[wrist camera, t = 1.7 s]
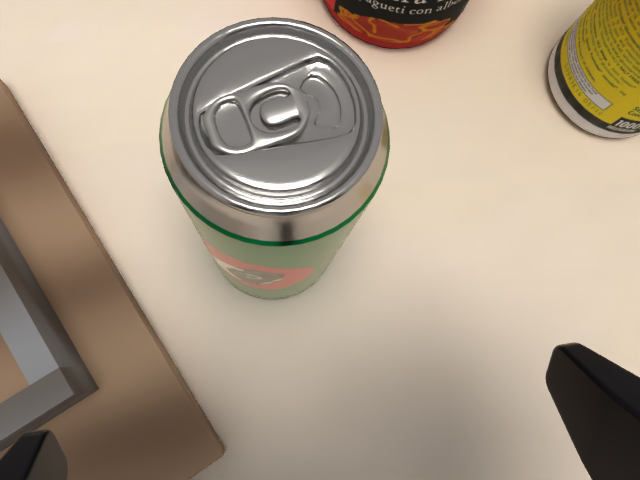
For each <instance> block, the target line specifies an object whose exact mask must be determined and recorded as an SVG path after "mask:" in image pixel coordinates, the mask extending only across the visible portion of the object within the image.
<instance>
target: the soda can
mask: <svg viewBox="0 0 640 480" xmlns="http://www.w3.org/2000/svg"><path fill="white" fill-rule="evenodd" d="M159 141H160V153H161V157H162V161H163V165H164V169H165V172H166V174H167V176H168V179H169V181H170V183H171V185H172V187H173V189H174V191H175V193H176V194H177V196H178V198H179V200H180V201H181V203H182V205H183V207H184V208H185V210H186V212H187V214H188V215H189V217H190V219H191V220H192V222H193V224H194V226H195V227H196V229H197V231H198V233H199V234H200V236H201V238H202V240H203V241H204V243H205V245H206V247H207V248H208V250H209V252H210V254H211V255H212V257H213V259H214V261H215V262H216V264H217V266H218V267H219V269H220V271H221V272H222V274H223V275H224V276H225V277H226V279H227V280H228V281H229V282H230V283H231V284H233V285H234V286H235V287H236V288H238V289H239V290H241V291H243V292H245V293H247V294H249V295H252V296H255V297H259V298H264V299H280V298H287V297H290V296H293V295H296V294H298V293H300V292H302V291H304V290H306V289H307V288H309V287H310V286H311V285H313V284H314V283H315V282H316V281H317V280H318V279H319V278H320V276H321V275H322V274H323V272H324V271H325V269H326V268H327V266H328V265H329V263H330V262H331V260H332V259H333V257H334V256H335V254H336V253H337V251H338V250H339V248H340V247H341V245H342V244H343V242H344V241H345V239H346V238H347V236H348V235H349V233H350V232H351V230H352V229H353V227H354V226H355V224H356V223H357V221H358V220H359V218H360V217H361V215H362V214H363V212H364V211H365V209H366V208H367V206H368V205H369V203H370V202H371V200H372V199H373V197H374V195H375V193H376V191H377V190H378V188H379V186H380V184H381V182H382V179H383V176H384V173H385V170H386V167H387V163H388V157H389V150H390V137H389V127H388V122H387V116H386V113H385V111H384V108H383V105H382V102H381V97H380V94H379V91H378V88H377V85H376V82H375V80H374V78H373V76H372V75H371V73H370V71H369V69H368V67H367V66H366V65H365V63H364V62H363V61H362V59H361V58H360V57H359V55H358V54H357V53H356V52H355V51H353V50H352V49H351V48H350V47H349V46H348V45H347V44H346V43H345V42H343V41H342V40H341V39H339V38H338V37H336V36H335V35H333V34H332V33H330V32H328V31H326V30H324V29H322V28H320V27H317V26H315V25H312V24H309V23H307V22H303V21H298V20H294V19H288V18H275V17H271V18H257V19H252V20H247V21H242V22H239V23H236V24H233V25H231V26H228V27H226V28H224V29H222V30H220V31H218V32H216V33H214V34H212V35H211V36H210V37H208V38H207V39H206V40H205V41H203V42H202V43H201V44H199V45H198V46H197V47H196V49H195V50H194V51H193V52H192V53H191V54H190V55H189V56H188V57H187V59H186V60H185V62H184V63H183V65H182V66H181V68H180V70H179V72H178V74H177V76H176V78H175V80H174V83H173V86H172V89H171V91H170V94H169V96H168V98H167V100H166V102H165V105H164V109H163V113H162V116H161V122H160V132H159Z"/></svg>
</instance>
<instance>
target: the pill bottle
mask: <svg viewBox="0 0 640 480" xmlns="http://www.w3.org/2000/svg"><path fill="white" fill-rule="evenodd" d="M548 78H549V84H550V87H551V91H552V94H553V96H554V98H555V100H556V102H557V103H558V105H559V107H560V108H561V109H562V111H563V112H564V113H565V114H566V115H567V116H568V117H569V118H570V119H571V120H572V121H573V122H574V123H575V124H577V125H578V126H579V127H581V128H582V129H584V130H586V131H588V132H590V133H593V134H596V135H599V136H603V137H610V138H625V137H631V136H635V135H638V134H640V0H595V1H594V2H593V3H592V4H591V5H590V6H589V7H588V8H587V10H586V11H585V12H584V13H583V14H582V15H581V16H580V17H579V18H578V19H577V20H576V21H575V22H574V24H573V25H572V26H571V27H570V28H569V29H568V30H567V31H566V32H565V34H564V35H563V36H562V37H561V38H560V40H559V41H558V42H557V44H556V45H555V47H554V49H553V51H552V53H551V56H550V60H549V66H548Z"/></svg>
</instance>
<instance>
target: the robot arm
mask: <svg viewBox="0 0 640 480" xmlns="http://www.w3.org/2000/svg"><path fill="white" fill-rule="evenodd" d="M546 384H547V387H548V390H549V392H550V394H551V396H552V398H553V400H554V403H555V405H556V407H557V409H558V411H559V413H560V416H561V418H562V420H563V422H564V424H565V427H566V429H567V431H568V433H569V435H570V437H571V440H572V442H573V444H574V446H575V448H576V450H577V452H578V454H579V456H580V458H581V460H582V462H583V464H584V466H585V468H586V470H587V471H588V473H589V475H590V477H591V478H592V480H640V377H638V376H636V375H634V374H633V373H631V372H629V371H627V370H626V369H624V368H622V367H620V366H619V365H617V364H615V363H613V362H612V361H610V360H608V359H606V358H605V357H603V356H601V355H599V354H598V353H596V352H594V351H592V350H591V349H589V348H587V347H585V346H583V345H581V344H579V343H568V344H562V345H558V346H556V347H555V348H554V350H553V352H552V356H551V359H550V362H549V366H548V369H547V372H546ZM67 477H68V462H67V458H66V456H65V454H64V452H63V450H62V448H61V446H60V444H59V442H58V440H57V438H56V436H55V434H54V433H53V431H51V430H49V429H44V430H38V431H32V432H27V433H25V434H23V435H22V436H20V437H19V438H18V439H17V441H16V442H15V443H14V444H13V445H12V446H11V447H10V448H9V450H8V451H7V452H6V453H5V454H4V455H3V456H2V458H1V459H0V480H67Z"/></svg>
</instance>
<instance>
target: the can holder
mask: <svg viewBox="0 0 640 480" xmlns="http://www.w3.org/2000/svg"><path fill="white" fill-rule="evenodd" d="M44 429H49V430H51V431H53V433H54V434H55V436H56V438H57V440H58V442H59V444H60V446H61V448H62V450H63V452H64V454H65V456H66V458H67V462H68V477H67V480H189V479H190V478H192V477H193V476H194V475H196V474H197V473H199V472H200V471H201V470H203V469H204V468H206V467H207V466H209V465H210V464H211V463H213V462H214V461H216V460H217V459H219V458H220V457H221V456H223V454H224V452H225V450H226V449H225V448H224V446H223V444H222V443H221V441H220V439H219V438H218V436H217V434H216V433H215V431H214V429H213V428H212V426H211V424H210V423H209V421H208V419H207V418H206V416H205V414H204V413H203V411H202V409H201V408H200V406H199V404H198V403H197V401H196V399H195V398H194V396H193V394H192V393H191V391H190V389H189V388H188V386H187V384H186V383H185V381H184V379H183V378H182V376H181V374H180V373H179V371H178V369H177V368H176V366H175V364H174V363H173V361H172V359H171V358H170V356H169V354H168V353H167V351H166V349H165V348H164V346H163V344H162V343H161V341H160V340H159V338H158V336H157V335H156V333H155V331H154V330H153V328H152V326H151V325H150V323H149V321H148V320H147V318H146V316H145V315H144V313H143V311H142V310H141V308H140V306H139V305H138V303H137V301H136V300H135V298H134V296H133V295H132V293H131V291H130V290H129V288H128V286H127V285H126V283H125V281H124V280H123V278H122V276H121V275H120V273H119V271H118V270H117V268H116V266H115V265H114V263H113V261H112V260H111V258H110V256H109V255H108V253H107V251H106V250H105V248H104V246H103V245H102V243H101V241H100V240H99V238H98V236H97V235H96V233H95V231H94V230H93V228H92V226H91V225H90V223H89V221H88V220H87V218H86V216H85V215H84V213H83V211H82V210H81V208H80V206H79V205H78V203H77V201H76V200H75V198H74V196H73V195H72V193H71V191H70V190H69V188H68V186H67V185H66V183H65V181H64V180H63V178H62V176H61V175H60V173H59V171H58V170H57V168H56V166H55V165H54V163H53V161H52V160H51V158H50V156H49V155H48V153H47V151H46V150H45V148H44V146H43V145H42V143H41V141H40V140H39V138H38V136H37V135H36V133H35V131H34V130H33V128H32V126H31V125H30V123H29V121H28V120H27V118H26V116H25V115H24V113H23V111H22V110H21V108H20V106H19V105H18V103H17V101H16V100H15V98H14V97H13V95H12V93H11V92H10V90H9V88H8V87H7V85H6V84H5V83H4V82H3V81H2V80H1V79H0V459H1V458H2V456H3V455H4V454H5V453H6V452H7V451H8V450H9V448H10V447H11V446H12V445H13V444H14V443H15V442H16V441H17V439H18V438H19V437H20V436H22V435H23V434H25V433H27V432H32V431H38V430H44Z"/></svg>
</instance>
